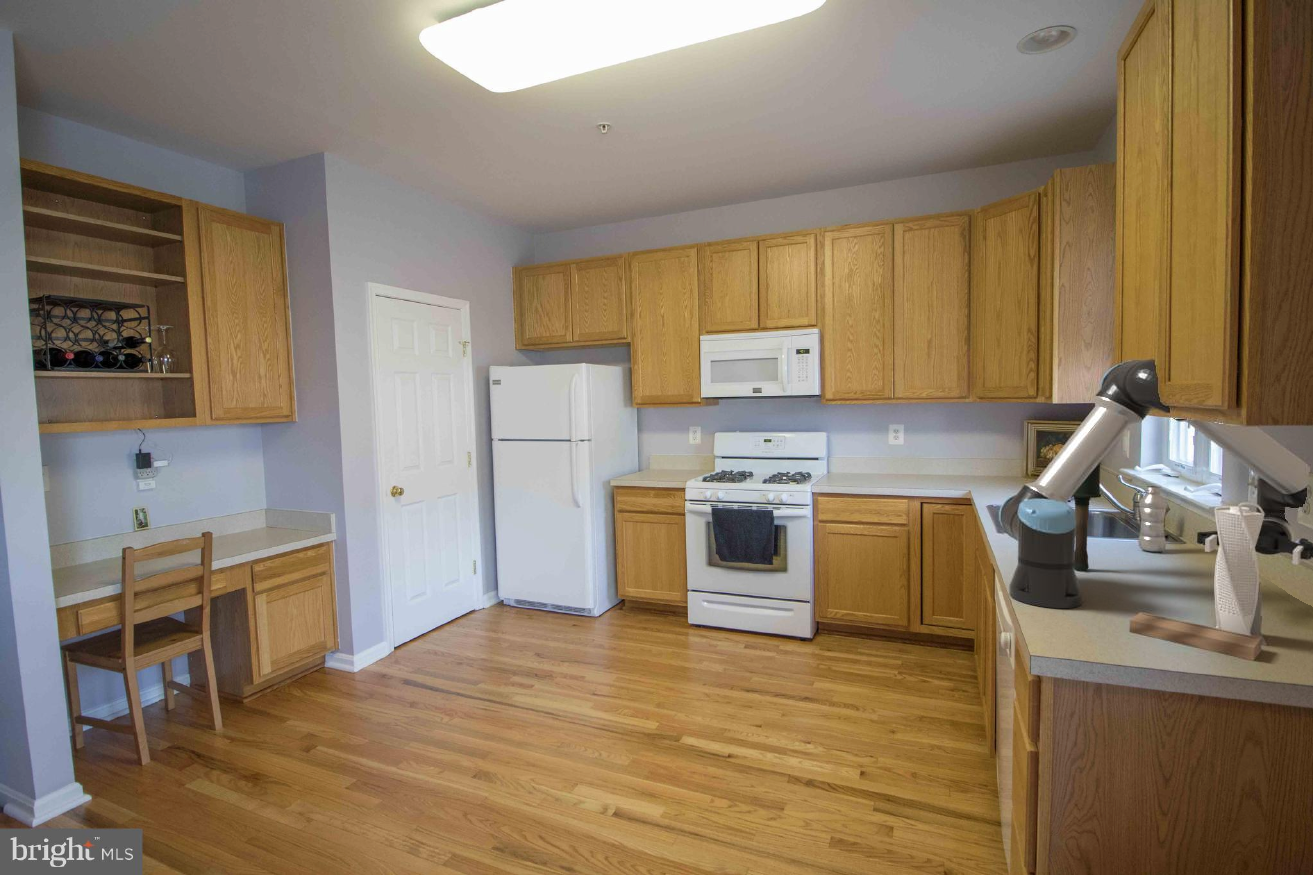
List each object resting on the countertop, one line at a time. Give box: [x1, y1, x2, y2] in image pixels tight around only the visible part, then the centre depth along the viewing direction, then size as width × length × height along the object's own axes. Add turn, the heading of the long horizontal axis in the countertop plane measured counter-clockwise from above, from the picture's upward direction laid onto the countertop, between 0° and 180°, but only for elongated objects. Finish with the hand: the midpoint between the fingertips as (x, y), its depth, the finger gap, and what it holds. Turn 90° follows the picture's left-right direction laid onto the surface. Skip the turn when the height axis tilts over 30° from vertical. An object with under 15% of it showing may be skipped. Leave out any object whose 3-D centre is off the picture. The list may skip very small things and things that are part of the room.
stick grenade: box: [1071, 463, 1102, 572], centre depth 174 cm, size 8×9×30 cm
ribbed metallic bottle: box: [1137, 485, 1167, 553], centre depth 192 cm, size 6×7×20 cm
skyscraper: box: [1213, 501, 1267, 646], centre depth 126 cm, size 8×8×28 cm
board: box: [1128, 611, 1262, 661], centre depth 126 cm, size 19×7×3 cm, turn 38°
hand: (1249, 551), depth 132 cm, fingers open, 13 cm apart
